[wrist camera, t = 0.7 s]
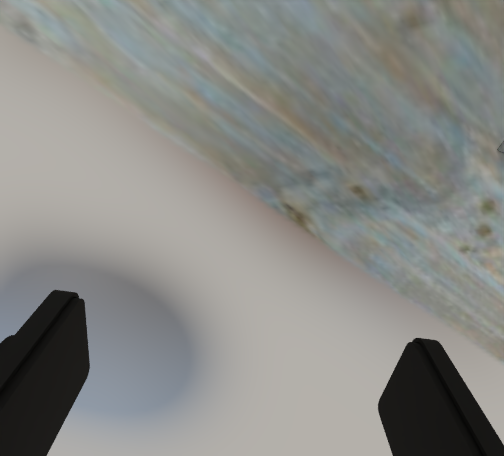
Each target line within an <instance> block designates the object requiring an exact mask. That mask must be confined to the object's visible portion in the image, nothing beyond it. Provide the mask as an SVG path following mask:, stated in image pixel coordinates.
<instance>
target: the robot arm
mask: <svg viewBox="0 0 504 456" xmlns="http://www.w3.org/2000/svg"><path fill="white" fill-rule="evenodd" d="M89 368H90V363H89V351H88V339H87V327H86V315H85V303H84V300H83V299H79V296H78V294H77V293H75V292H67V291H60V290H54V291H52V292H51V293H50V294H49V295H48V297H47V298H46V299H45V300H44V301H43V303H42V304H41V305H40V306H39V307H38V308H37V309H36V311H35V312H34V313H33V314H32V315H31V317H30V318H29V319H28V320H27V321H26V322H25V324H24V325H23V326H22V327H21V328H20V329H19V331H18V332H17V333H16V334H15V335H11V336H9V337H7V338H6V339H5V340H3V341H2V342H1V343H0V456H47V454H48V452H49V450H50V448H51V446H52V444H53V442H54V440H55V438H56V436H57V434H58V432H59V430H60V429H61V427H62V425H63V423H64V421H65V419H66V417H67V415H68V413H69V411H70V409H71V408H72V406H73V404H74V402H75V400H76V398H77V396H78V394H79V392H80V390H81V388H82V386H83V384H84V383H85V380H86V379H87V376H88V373H89ZM378 411H379V415H380V418H381V421H382V424H383V427H384V430H385V433H386V436H387V439H388V442H389V445H390V448H391V451H392V454H393V456H504V445H503V444H502V442H501V440H500V439H499V437H498V435H497V434H496V432H495V430H494V429H493V427H492V426H491V424H490V422H489V421H488V419H487V418H486V416H485V414H484V413H483V411H482V410H481V408H480V406H479V405H478V403H477V401H476V400H475V398H474V397H473V395H472V393H471V392H470V390H469V389H468V387H467V385H466V384H465V382H464V381H463V379H462V377H461V376H460V375H459V373H458V371H457V369H456V368H455V366H454V365H453V363H452V361H451V360H450V358H449V357H448V355H447V353H446V352H445V350H444V348H443V347H442V345H441V344H440V343H439V342H438V341H436V340H430V339H422V338H415V339H414V340H413V341H412V342H409V343H408V344H407V346H406V347H405V349H404V351H403V353H402V356H401V358H400V360H399V361H398V363H397V365H396V367H395V370H394V371H393V373H392V375H391V377H390V380H389V381H388V384H387V386H386V388H385V390H384V392H383V394H382V396H381V398H380V400H379V403H378Z"/></svg>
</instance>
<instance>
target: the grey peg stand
mask: <svg viewBox="0 0 504 456" xmlns="http://www.w3.org/2000/svg"><path fill="white" fill-rule="evenodd" d="M498 150H499V151H501V152H503V153H504V142H503V143H502V144H501V146H500V147H499V148H498Z"/></svg>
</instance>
